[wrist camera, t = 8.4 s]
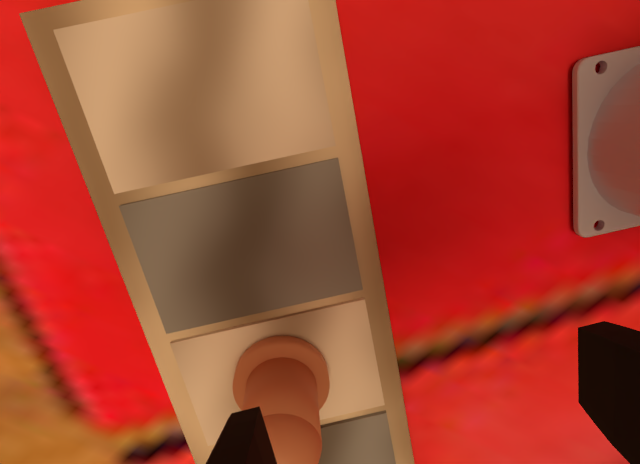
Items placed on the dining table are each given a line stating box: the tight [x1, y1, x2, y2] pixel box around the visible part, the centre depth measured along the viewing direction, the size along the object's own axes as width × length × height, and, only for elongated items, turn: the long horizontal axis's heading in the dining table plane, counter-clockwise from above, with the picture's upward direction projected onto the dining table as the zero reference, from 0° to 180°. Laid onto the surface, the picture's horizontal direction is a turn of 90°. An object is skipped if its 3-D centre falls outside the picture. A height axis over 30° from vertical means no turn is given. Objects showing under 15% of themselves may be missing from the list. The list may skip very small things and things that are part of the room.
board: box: [19, 0, 414, 464], centre depth 19 cm, size 11×27×1 cm, turn 12°
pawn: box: [233, 336, 330, 464], centre depth 16 cm, size 4×4×6 cm
